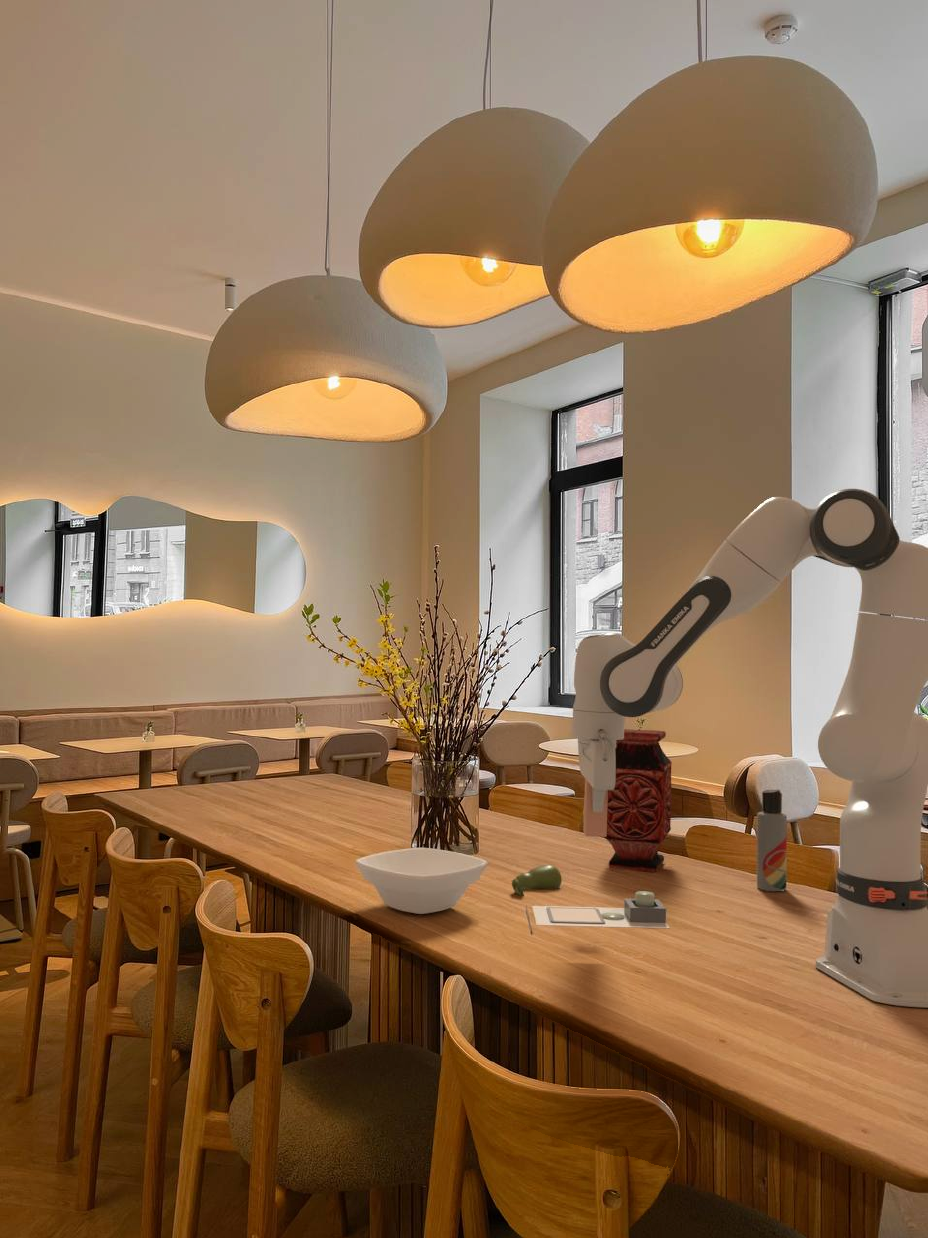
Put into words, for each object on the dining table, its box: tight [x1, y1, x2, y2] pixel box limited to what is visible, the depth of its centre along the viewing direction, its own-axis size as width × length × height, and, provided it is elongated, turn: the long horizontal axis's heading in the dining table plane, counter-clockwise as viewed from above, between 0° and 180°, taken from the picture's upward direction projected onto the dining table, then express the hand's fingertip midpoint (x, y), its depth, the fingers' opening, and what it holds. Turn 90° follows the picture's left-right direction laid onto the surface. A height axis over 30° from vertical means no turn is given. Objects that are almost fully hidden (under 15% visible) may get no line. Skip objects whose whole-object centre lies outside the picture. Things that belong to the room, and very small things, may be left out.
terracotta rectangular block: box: [582, 778, 608, 838], centre depth 156 cm, size 4×4×12 cm
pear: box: [511, 864, 563, 897], centre depth 178 cm, size 6×5×10 cm
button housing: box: [623, 898, 667, 924], centre depth 157 cm, size 6×6×2 cm
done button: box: [634, 890, 655, 907], centre depth 157 cm, size 3×3×2 cm
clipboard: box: [525, 905, 670, 935], centre depth 157 cm, size 14×24×1 cm, turn 90°
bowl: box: [354, 847, 489, 915], centre depth 165 cm, size 21×21×9 cm
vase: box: [603, 728, 672, 873], centre depth 205 cm, size 14×14×30 cm
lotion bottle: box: [756, 789, 788, 892], centre depth 185 cm, size 6×6×20 cm
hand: (595, 808), depth 156 cm, fingers closed on terracotta rectangular block, 3 cm apart
